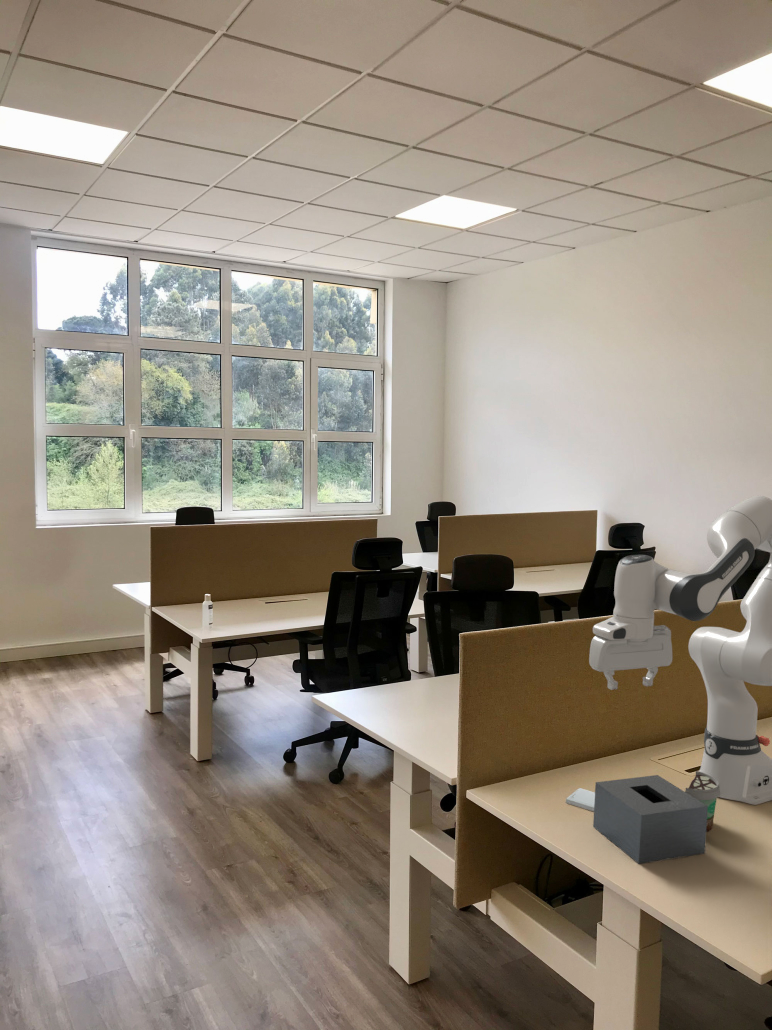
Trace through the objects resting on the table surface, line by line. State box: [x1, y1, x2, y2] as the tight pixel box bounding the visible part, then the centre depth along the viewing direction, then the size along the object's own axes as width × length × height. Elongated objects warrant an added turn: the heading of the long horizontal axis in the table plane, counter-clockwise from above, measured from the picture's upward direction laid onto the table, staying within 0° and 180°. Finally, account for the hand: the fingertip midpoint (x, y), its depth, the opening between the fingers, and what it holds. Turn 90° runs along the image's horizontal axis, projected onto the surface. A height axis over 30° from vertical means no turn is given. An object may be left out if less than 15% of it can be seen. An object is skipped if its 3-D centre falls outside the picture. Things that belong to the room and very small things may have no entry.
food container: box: [684, 770, 721, 833], centre depth 173 cm, size 12×6×10 cm, turn 148°
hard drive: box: [565, 787, 595, 812], centre depth 183 cm, size 2×8×12 cm
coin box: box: [592, 774, 708, 865], centre depth 166 cm, size 16×16×10 cm
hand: (630, 687), depth 179 cm, fingers open, 8 cm apart
